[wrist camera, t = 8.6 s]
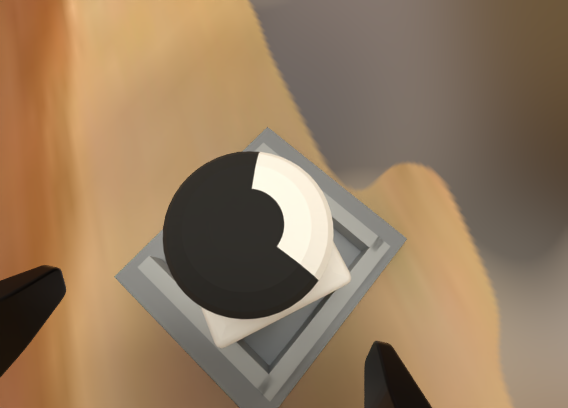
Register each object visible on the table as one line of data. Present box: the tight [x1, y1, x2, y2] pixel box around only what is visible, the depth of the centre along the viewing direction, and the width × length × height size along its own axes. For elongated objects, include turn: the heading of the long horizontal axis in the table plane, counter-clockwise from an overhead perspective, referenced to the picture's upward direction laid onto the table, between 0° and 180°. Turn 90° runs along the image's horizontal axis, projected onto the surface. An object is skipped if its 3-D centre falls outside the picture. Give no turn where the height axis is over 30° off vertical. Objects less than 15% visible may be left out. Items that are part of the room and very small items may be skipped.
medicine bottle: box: [163, 151, 351, 348], centre depth 15 cm, size 7×7×12 cm
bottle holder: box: [115, 127, 407, 408], centre depth 21 cm, size 14×16×3 cm
